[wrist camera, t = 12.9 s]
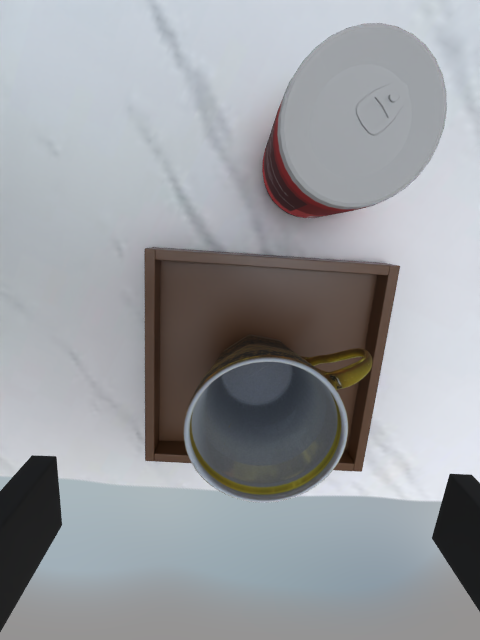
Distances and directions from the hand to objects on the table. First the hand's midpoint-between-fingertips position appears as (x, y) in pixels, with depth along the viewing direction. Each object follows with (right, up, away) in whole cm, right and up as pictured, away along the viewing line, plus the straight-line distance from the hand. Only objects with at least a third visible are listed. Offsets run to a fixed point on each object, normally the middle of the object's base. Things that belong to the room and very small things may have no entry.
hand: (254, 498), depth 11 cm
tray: (+1, +2, +19) cm, 19 cm away
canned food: (+5, +18, +15) cm, 24 cm away
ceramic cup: (+2, +2, +19) cm, 19 cm away
